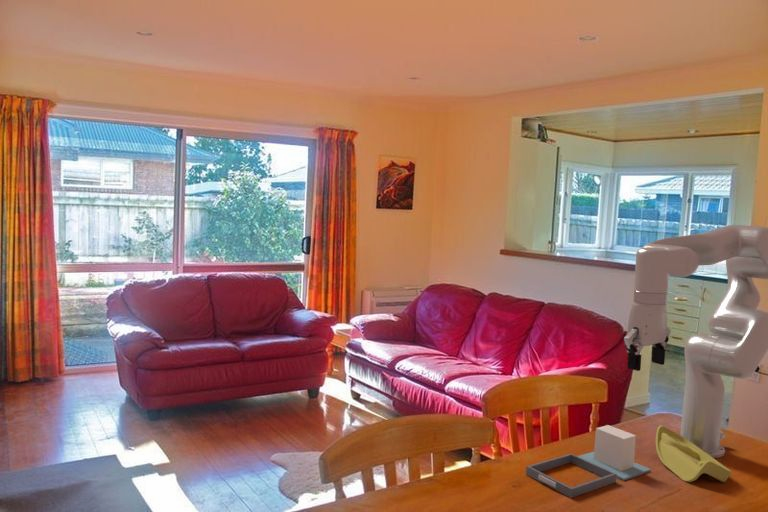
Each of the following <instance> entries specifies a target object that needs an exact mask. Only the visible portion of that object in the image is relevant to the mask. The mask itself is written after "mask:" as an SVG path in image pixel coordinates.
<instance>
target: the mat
mask: <svg viewBox="0 0 768 512" xmlns="http://www.w3.org/2000/svg"><path fill="white" fill-rule="evenodd" d="M577 456H578V457H580V458H582V459H584V460H587V461H589V462H591V463H593V464H596V465H598V466H600V467H602V468H604V469H607V470H609V471H611V472H613V473H616V474H617V476H616V479H619V480H621V481H627V480H629V479H632V478H633V479H634V478H636V477H637V476H638V477H639V476H642V475H643V474H646V473H649V472H651V471H652V469H651V468H649V467H646V466H644V465H641V464H639V463H637V462H635V461H634V464H633V467H631V468H628V469H625V470H622V471H620V470H618V469H616V468H613V467H611V466H609V465H606V464H604V463H602V462H600V461H597V460H595V459H593V457H594V451H591V452H587V453H584V454H581V455H577Z"/></svg>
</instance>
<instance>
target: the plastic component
mask: <svg viewBox="0 0 768 512" xmlns="http://www.w3.org/2000/svg"><path fill="white" fill-rule="evenodd" d="M655 447H656V448H655V450H656V453H657V456H658V458H659V459H660V461H661V462H662V464H663V465H664V466H666V467H667V468H668V469H669V470H670V471H672V472H673V473H674V474H675V475H676V476H677V477H679V478H680V479H681V480H682V481H684V482H687V483H692V482H694V481H696V480H697V479H698V478H699V477H700V476H702V475H703V474H707V476H709V477H712V478H713V479H715V480H717V481H719V482H722V483H726V482H727V480H728V479H729V477H730V475H731V473H732V470H730V469H729V468H727V467H726V466H725V465H723V464H722V463H721V462H719V461H718V460H716V458H712V457H711V456H710V455H708V454H707V453H706V452H704V451H703V450H701V449H700V448H699V447H697V446H696V445H694V444H693V443H692V442H690V441H689V440H687V439H685V438H684V437H682V436H681V435H680V433H677V432H676V431H674V430H672V429H670V428H668V427H666V426H664V425H662V424H661V425H659V426H657V429H656V433H655Z"/></svg>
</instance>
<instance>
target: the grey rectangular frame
mask: <svg viewBox="0 0 768 512" xmlns="http://www.w3.org/2000/svg"><path fill="white" fill-rule="evenodd" d="M578 456H579V455H576V454H574V453H569V454H565V455H561V456H558V457H554V458H551V459H548V460H544V461H540V462H537V463H533V464H531V465H530V464H529V465H527V466H526V467H525V475H526V476H528V477H530V478H532V479H534V480H535V481H538V482H540V483H541V484H544V485H545V486H547V487H549V488H550V489H552V490H555V491H557V492H559V493H561V494H563V495H564V496H566V497H568V498H570V499H572V498H575V497H577V496H580V495H584V494H586V493H590V492H592V491H596V490H597V489H600V488H603V487H607V486H609V485H612V484H614V483H617V477H616V476H617V474H616V473H613V472H611V471H609V470H607V469H604V468H602V467H600V466H598V465H596V464H593V463H591V462H589V461H587V460H584V459H582V458H580V457H578ZM570 463H571V464H574V466H577V467H580V468H582V469H583V470H586V471H588V472H590V473H592V474H595V475H597V476H599V478H595V479H592V480H590V481H587V482H584V483H580V484H578V485H575V486H572V487H571V486H569V485H567V484H566V483H563V482H561V481H560V480H557V479H555V478H553V477H551V476H549V475H547V474H545V473H543V472H544V471H547V470H551V469H554V468H557V467H560V466H564V465H567V464H570Z"/></svg>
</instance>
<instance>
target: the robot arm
mask: <svg viewBox="0 0 768 512" xmlns="http://www.w3.org/2000/svg"><path fill="white" fill-rule="evenodd" d="M724 261H725V268H726V275H727V289H726V291H725V293H724V294H723V297H722V298H721V300H720V301H719V302H718V304H717V306H716V307H715V308H714V311H713V312H712V314H711V315H710V317H709V320H708V323H707V324H708V325H707V327H708V330H709V332H710V334H709V333H696V334H693V335H691V336H689V337H688V339H686V342H685V345H684V359H685V360H684V362H685V382H684V383H685V384H684V393H683V403H682V411H681V412H682V413H681V423H680V433H679V435H681V436H682V437H684V438H685V439H687V440H689V441H690V442H692V443H693V444H694V445H696V446H697V447H699V448H700V449H701V450H703V451H704V452H706V453H707V454H708V455H710V456H711V457H712V458H714V459H717V458H719V459H720V458H722V457H724V456H725V454H726V450H725V448H724V447H723V446H722V445H720V440H722V439H724V438H725V437H726V433H725V432H724V431H722V430H721V428H722V420H723V418H722V417H723V409H724V400H725V393H726V392H725V390H726V389H725V384H724V380H723V378H722V377H721V375H723V376H725V377H730V378H734V379H738V380H745V379H746V380H747V379H748V378H750V377H751V376H752V375H753V374H754V373H755V371H756V370H757V368H758V367H759V365H760V363H761V362H762V361H763V358H764V357H765V355H766V353H767V352H768V312H767V311H765V310H761V309H757V308H758V306H759V304H760V301H761V296H760V292H759V289H758V288H757V286H756V284H755V283H754V280H753V278H754V279H760V280H768V227H766V226H760V225H759V226H758V225H745V224H744V225H742V224H731V225H730V224H729V225H725V226H721V227H718V228H715V229H712V230H709V231H705V232H702V233H696V234H688V235H682V236H680V235H679V236H673V237H666V238H661V239H657V240H654V241H651V242H649V243H646V244H644V245H643V247H641V248H638V249H637V250H636V253H635V268H634V286H633V287H634V289H633V300H632V301H633V303H632V304H631V308H630V311H629V315H628V316H629V317H628V323H627V329H626V330H627V332H626V335H625V336H624V338H623V341H624V345H625V349H626V353H628V354H627V355H628V356H627V368H628V369H630V370H633V371H636V372H639V371H641V367H642V354H641V351H642V350H643V348H644V347H648V346H652V345H653V346H652V347H651V348H652V350H651V362H652V363H654V364H658V365H661V366H663V365H665V361H666V349H667V348H668V347H667V346H668V345H667V344H668V342H669V337H670V335H671V332H672V331H671V329H670V328H669V327H668V310H667V304H668V288H669V287H668V286H669V278H670V277H673V278H674V277H675V278H686V277H689V276H691V275H693V274H694V273H695V272H696V271H697V270H698V268H699V267H700V266H713V265H716V264H719V263H721V262H724ZM636 346H637V347H636Z"/></svg>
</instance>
